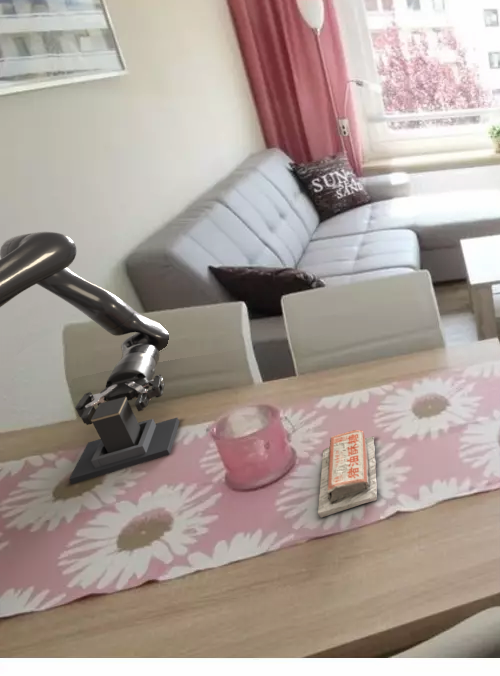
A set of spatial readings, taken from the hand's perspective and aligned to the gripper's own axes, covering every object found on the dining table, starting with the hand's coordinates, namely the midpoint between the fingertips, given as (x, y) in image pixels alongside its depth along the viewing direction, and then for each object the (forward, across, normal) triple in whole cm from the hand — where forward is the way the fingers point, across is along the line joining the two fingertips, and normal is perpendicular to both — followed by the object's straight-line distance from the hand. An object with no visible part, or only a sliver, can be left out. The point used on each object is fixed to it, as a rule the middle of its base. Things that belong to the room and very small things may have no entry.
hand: (113, 414), depth 111 cm
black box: (0, 0, +8) cm, 8 cm away
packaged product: (+33, +41, +10) cm, 54 cm away
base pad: (+1, 0, +10) cm, 10 cm away
